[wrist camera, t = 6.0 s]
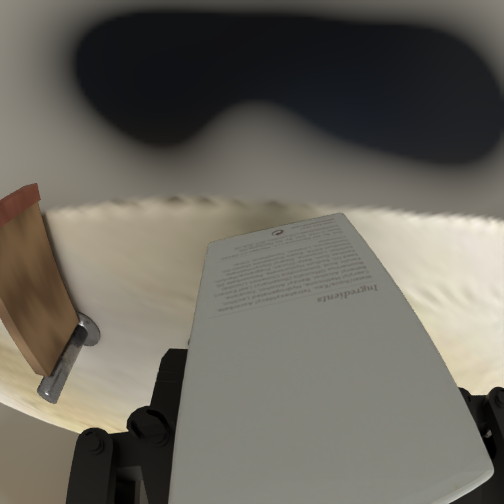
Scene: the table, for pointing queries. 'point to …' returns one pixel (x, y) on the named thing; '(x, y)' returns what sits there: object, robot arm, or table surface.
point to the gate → (32, 283)
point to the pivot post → (68, 358)
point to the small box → (316, 381)
